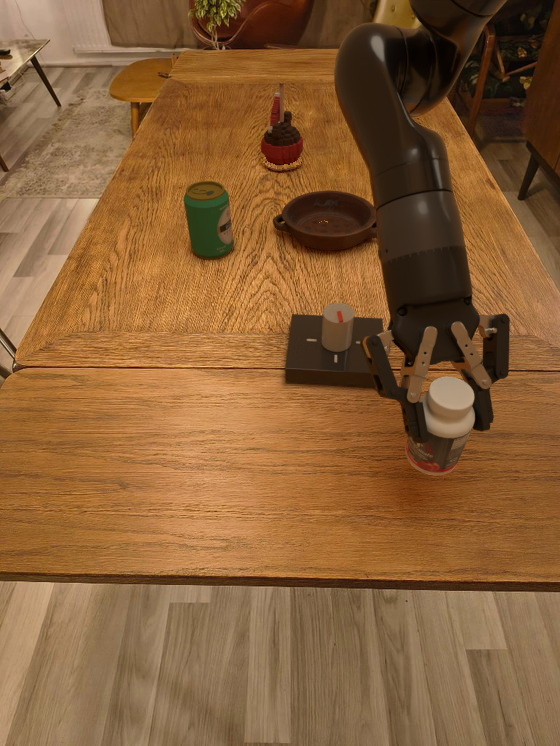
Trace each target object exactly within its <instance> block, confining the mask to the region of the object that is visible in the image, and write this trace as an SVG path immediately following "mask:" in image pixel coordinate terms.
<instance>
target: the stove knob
mask: <svg viewBox="0 0 560 746" xmlns="http://www.w3.org/2000/svg"><path fill="white" fill-rule="evenodd" d="M322 315H323V318H322V336H321V343H322V345H323V346H324V348H326V349H327V350H330V351H333V352H341V351H344V350H347V349H348V348H349V347H350V346H351V342H352V333H353V324H354V317H355V310H354V308H353V307H352V306H350V305H349V304H347V303H343V302H332V303H329V304H327V305H326V306H324V308H323V310H322Z"/></svg>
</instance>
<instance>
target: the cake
mask: <svg viewBox="0 0 560 746" xmlns="http://www.w3.org/2000/svg"><path fill="white" fill-rule="evenodd" d="M278 86H279V92H277V91H276V92H275V93H274V95H273V101H272V105H271V112H270V119H269V125H268V128H267V130H266V131H265V132H264V133H263V137H262V138H261V141H260V153H262V154H263V156H264V157H266V159H267V161H268V162H270V163H273V164H275V165H284V164H288V165H290V163H293V162H295V161H297V160H298V158H299V157H301V154H302V153H303V152H304V139H303V136H301V132H300V130H298V129H297V127H295V126H293V125H292V120H293V113H292V111H290V110H285V111H284V109H285V108H284V107H285V106H284V105H285V104H284V103H285V102H284V100H285V98H284V97H285V96H284V82H282V81H280V82H279V85H278ZM301 159H303V157H302V158H301ZM267 161H265V163H267ZM303 162H304V160H303V161H302V163H301V164H300V165H296V167H292V168H288V169H283V168H282V170H281V169H274V168H271V167H272V166H271V167H268V166H266V165H265V163H263V161H262V165H264V167H266V169H270V170H273V171H280V172H282V171H289V170H290V171H291V170H294V169H295V170H296V168H297V167H299V168H300V167H301V166H302V164H303ZM267 165H268V164H267ZM270 165H271V164H270Z"/></svg>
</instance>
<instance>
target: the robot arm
mask: <svg viewBox="0 0 560 746" xmlns="http://www.w3.org/2000/svg"><path fill="white" fill-rule="evenodd" d="M507 1H508V0H408V4H409V7H410V9H411V11H412V13H413V15H414V17H415V18H416V19H417V20H418V21H419V23H420V25H419V26H417V28H412V27H406V26H400V25H395V24H394V25H393V24H389V23H388V24H387V23H382V22H364V23H361V24H359V25H356V26H355V27H354V28H352V29H351V30H350V31H349V32H348V33H347V34H346V35H345V36H344V38H343V40H342V41H341V43H340V45H339V48H338V50H337V53H336V57H335V62H334V71H333V73H334V74H333V83H334V89H335V90H334V91H335V95H336V99H337V103H338V106H339V108H340V111H341V114H342V116H343V118H344V120H345V123H346V125H347V127H348V129H349V132H350V134H351V137H352V138H353V140H354V142H355V145H356V148H357V149H358V152H359V154H360V156H361V158H362V160H363V163H364V164H365V165H366V168H367V171H368V175H369V183H370V189H371V194H372V195H371V197H372V202H373V206H374V209H375V212H376V213H375V215H376V234H377V238H376V242H377V257H378V259H379V262H380V266H381V273H382V274H381V275H382V280H383V285H384V291H385V297H386V298H385V299H386V303H387V304H386V305H387V309H388V313H389V323H388V325H387V330H385V331H384V332H382V333H380V334H377V335H373V336H368V337H364V338H362V339H361V341H360V346H361V348H362V351H363V354H364V357H365V359H366V362H367V365H368V367H369V370H370V373H371V375H372V378H373V381H374V384H375V386H376V388H375V389H376V392H377V394H378V396H379V397H380V398H382V399H388V400H394V401H396V402H397V403H399V405H400V409H401V416H402V421H403V429H404V432H405V434H406V436H407V438H408V437H412V439H413V441H414V442H416V443H419V444H421V443H426V442H428V441H429V438H428V432H427V426H426V419H425V413H424V407H423V402H419V399H420V398H421V396H422V391H423V385H424V380H425V379H426V378H427V377H428V372H429V370H430V369H429V368H430V366H434V365H438V364H440V363H443V362H444V363H445V362H450V363H451V365H452V367H453V368H454V369H455V370H456V371H457V372H458V373H459V374H460V376H461V378H462V380H463V381H464V382H466V383H467V384H468V385H469V386H470V387H471V388H472V390H473V392H474V402H473V405H472V407H473V409H474V412H475V422H474V425H473V428H472V430H474V431H477V432H486V431H490V429H491V424H493V423H494V418H495V415H494V409H493V403H492V397H491V387H492V385H493V384H495V383H496V382H498V381H499V380H505V379H506V378H507V377H508V376H509V372H510V371H509V370H510V330H511V329H510V327H511V324H510V323H511V318H510V316H509V315H508V314H507V313H497V314H492V315H490V314H479V312H478V311H477V309H476V308H475V306H474V304H473V284H472V278H471V272H470V267H469V260H468V253H467V248H466V247H467V246H466V242H465V236H464V229H463V223H462V218H461V214H460V211H459V208H458V205H457V201H456V198H455V197H456V196H455V193H454V186H453V179H452V174H451V168H450V162H449V160H450V159H449V155H448V150H447V146H446V143H445V141H444V139H443V138H442V135H440V134H439V133H438V132H437V131H435V130H432V129H430V128H427V127H426V126H423V125H421V124H419V123H418V122H417V121H415V120H414V118H417V117H421V116H423V115H425V114H427V113H428V112H431V111H432V110H434V109H435V108H436V107H437V106H438V105H440V104H441V103H442V102H443V100H444V99H446V97H447V96H448V94H449V93H450V92H451V90H452V89H453V87H454V85H455V83H456V81H457V80H458V78H459V76H460V74H461V72H462V70H463V68H464V67H465V65H466V63H467V61H468V59H469V58H470V56H471V54H472V52H473V50H474V48H475V46H476V44H477V43H478V40H479V38H480V37H481V34H482V32H483V30H484V28H485V26H486V25H487V24H488V23H489V21H490V20H491V19H492V18H493V17H494V16H495V15H496V14H497V13H498V11H499V10H500V9H502V7H503V6H504V4H505V3H506V2H507ZM477 330H478V334H479V336H480V337H482V357H481V355H480V353H479V351H478V350H477V348H476V346H475V344H474V343H473V339H474V336H475V334H476V332H477ZM391 343H393V344H394V345H395V346H396V347H397V348H398V350H400V351H401V352H402V353H403V355H402V361H401V366H400V370H399V375H400V379H399V385H398V382H397V379H396V377H395V374H394V371H393V368H392V365H391V363H390V360H389V357H388V356H389V355H390V354H391Z"/></svg>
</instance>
